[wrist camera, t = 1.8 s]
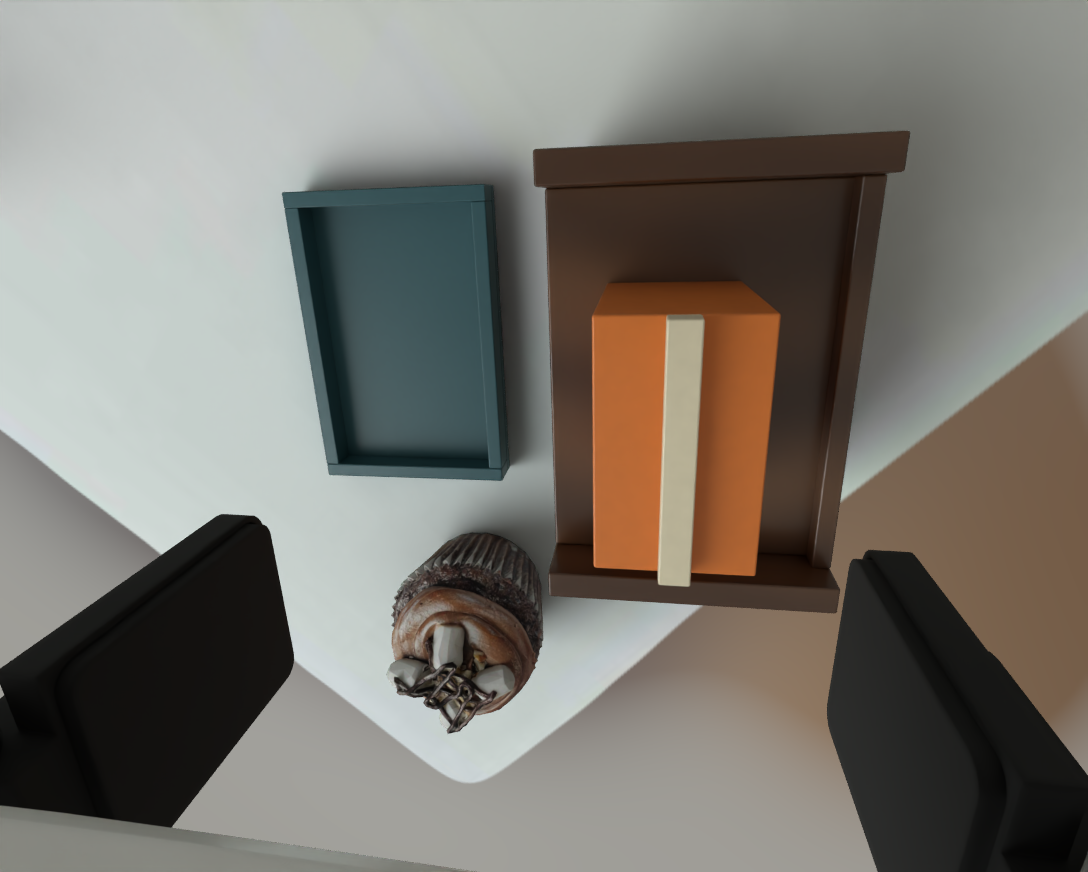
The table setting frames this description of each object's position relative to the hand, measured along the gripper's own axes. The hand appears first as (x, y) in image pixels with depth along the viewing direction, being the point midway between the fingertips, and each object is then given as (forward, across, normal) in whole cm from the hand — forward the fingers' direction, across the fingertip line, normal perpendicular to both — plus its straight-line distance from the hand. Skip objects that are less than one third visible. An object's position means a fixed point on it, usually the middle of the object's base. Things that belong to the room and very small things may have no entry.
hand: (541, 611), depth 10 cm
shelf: (+27, -3, +1) cm, 28 cm away
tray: (+27, +12, +1) cm, 30 cm away
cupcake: (+28, +9, +18) cm, 34 cm away
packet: (+17, -2, +1) cm, 18 cm away
